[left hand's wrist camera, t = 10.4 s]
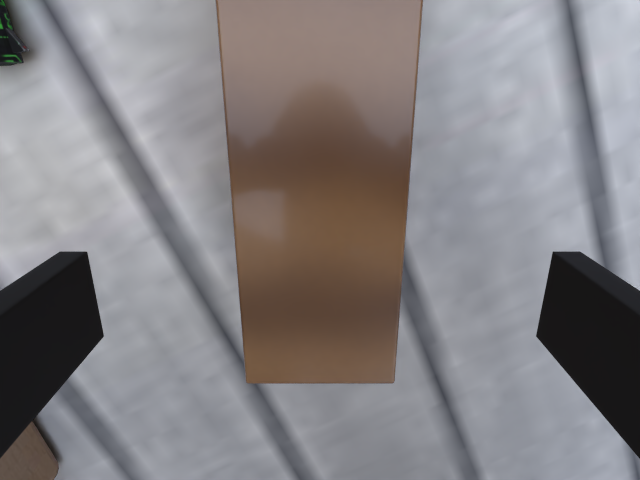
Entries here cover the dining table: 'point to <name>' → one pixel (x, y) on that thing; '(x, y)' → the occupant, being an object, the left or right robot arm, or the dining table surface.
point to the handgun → (9, 40)
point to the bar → (319, 180)
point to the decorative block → (28, 458)
